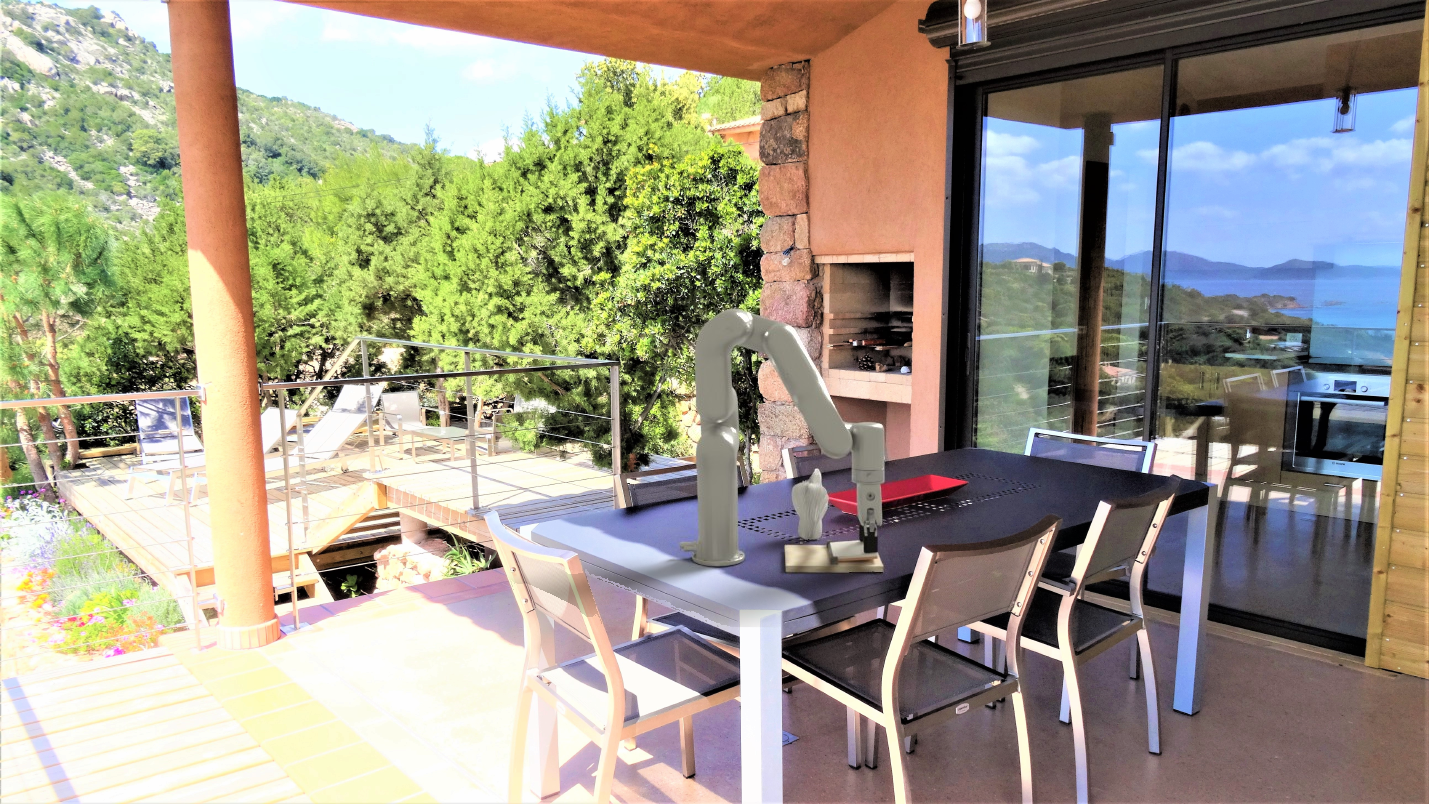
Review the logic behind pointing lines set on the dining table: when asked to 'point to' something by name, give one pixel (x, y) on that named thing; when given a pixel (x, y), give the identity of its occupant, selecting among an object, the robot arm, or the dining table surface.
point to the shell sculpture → (810, 506)
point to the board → (824, 560)
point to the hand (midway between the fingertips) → (868, 546)
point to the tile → (850, 551)
